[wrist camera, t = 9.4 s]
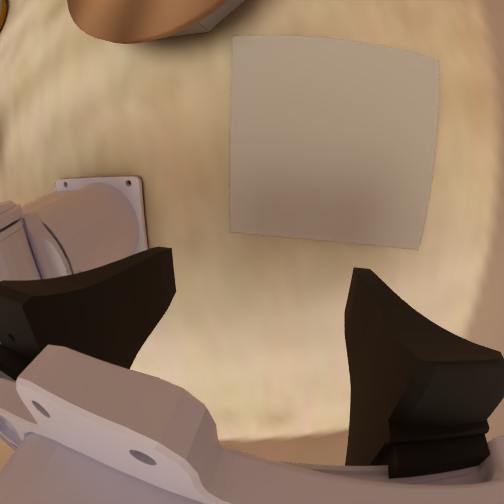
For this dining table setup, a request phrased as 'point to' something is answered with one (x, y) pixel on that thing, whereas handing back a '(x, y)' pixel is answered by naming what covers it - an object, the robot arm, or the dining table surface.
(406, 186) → the mat
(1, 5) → the bottle
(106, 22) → the lid
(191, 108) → the dining table surface
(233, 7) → the bowl
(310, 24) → the dining table surface
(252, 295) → the dining table surface
